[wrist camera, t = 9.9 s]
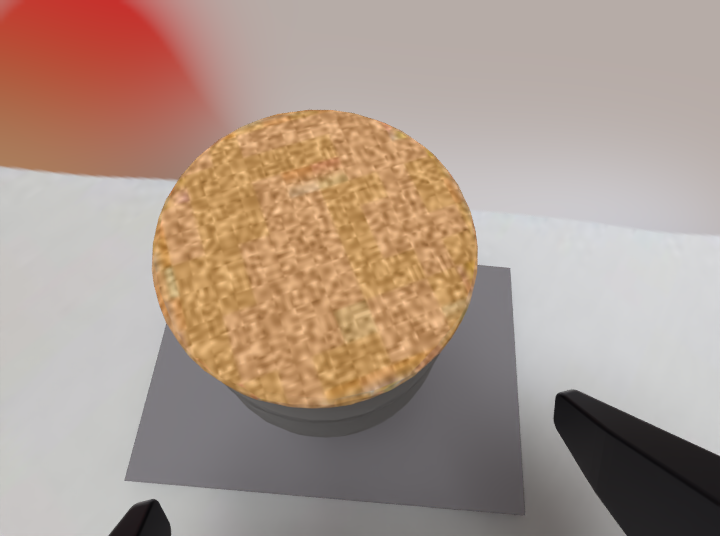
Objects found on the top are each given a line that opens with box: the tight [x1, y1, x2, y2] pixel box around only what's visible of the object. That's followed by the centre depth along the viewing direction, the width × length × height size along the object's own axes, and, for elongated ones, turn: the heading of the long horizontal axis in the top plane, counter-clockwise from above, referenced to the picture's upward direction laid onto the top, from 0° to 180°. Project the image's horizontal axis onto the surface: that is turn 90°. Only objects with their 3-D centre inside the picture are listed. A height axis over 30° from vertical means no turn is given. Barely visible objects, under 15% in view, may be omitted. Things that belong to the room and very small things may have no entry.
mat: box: [124, 265, 525, 515], centre depth 20 cm, size 18×12×1 cm, turn 85°
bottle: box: [152, 110, 478, 438], centre depth 13 cm, size 6×6×15 cm
